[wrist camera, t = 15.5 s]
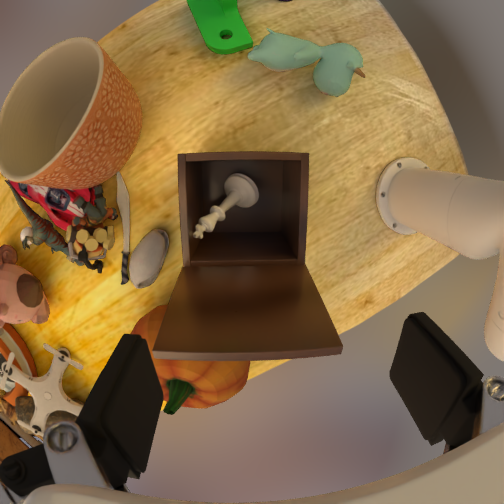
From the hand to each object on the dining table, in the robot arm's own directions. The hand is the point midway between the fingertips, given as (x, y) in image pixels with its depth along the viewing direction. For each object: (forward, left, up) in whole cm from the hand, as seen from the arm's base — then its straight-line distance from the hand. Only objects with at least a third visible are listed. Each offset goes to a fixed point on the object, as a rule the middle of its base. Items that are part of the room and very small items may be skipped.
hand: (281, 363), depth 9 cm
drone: (+49, +39, -30) cm, 69 cm away
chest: (+1, -2, -32) cm, 32 cm away
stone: (+13, +7, -27) cm, 31 cm away
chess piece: (+1, -3, -29) cm, 30 cm away
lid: (+1, +4, -13) cm, 14 cm away
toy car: (+33, -6, -32) cm, 46 cm away
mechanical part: (+4, -29, -32) cm, 43 cm away
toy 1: (+48, +7, -23) cm, 54 cm away
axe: (+99, +66, -30) cm, 122 cm away
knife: (+17, +3, -32) cm, 36 cm away
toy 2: (+20, -3, -24) cm, 31 cm away
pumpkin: (+9, +21, -31) cm, 39 cm away
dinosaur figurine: (+40, +2, -29) cm, 50 cm away
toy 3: (-7, -21, -32) cm, 39 cm away
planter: (+21, -11, -31) cm, 39 cm away
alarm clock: (+68, +42, -27) cm, 84 cm away
